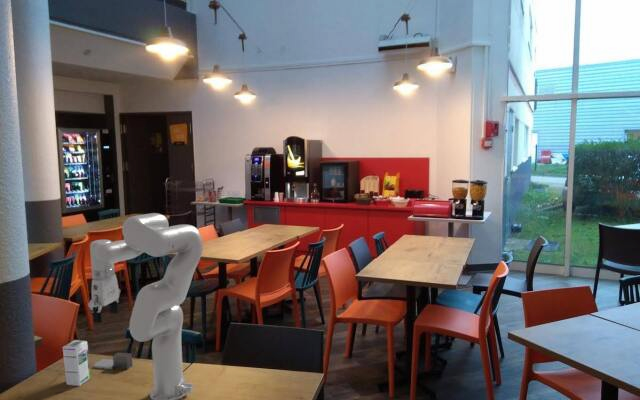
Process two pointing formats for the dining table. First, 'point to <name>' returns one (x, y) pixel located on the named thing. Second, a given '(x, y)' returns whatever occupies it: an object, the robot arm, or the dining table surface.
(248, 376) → the dining table surface
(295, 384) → the dining table surface
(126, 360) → the two-tone stacked blocks
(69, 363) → the syrup box
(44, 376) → the dining table surface
